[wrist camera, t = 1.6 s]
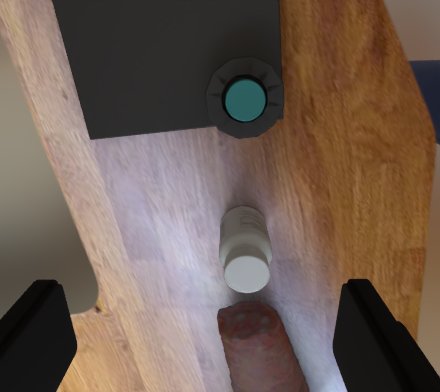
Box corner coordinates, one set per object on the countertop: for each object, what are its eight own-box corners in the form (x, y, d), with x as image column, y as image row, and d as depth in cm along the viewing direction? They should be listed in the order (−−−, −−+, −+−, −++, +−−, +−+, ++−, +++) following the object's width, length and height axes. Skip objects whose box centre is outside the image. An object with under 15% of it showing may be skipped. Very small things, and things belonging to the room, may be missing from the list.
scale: (274, -60, 22) (280, -78, 19) (281, 126, 27) (287, 133, 24) (53, -27, 23) (28, -40, 20) (98, 146, 28) (84, 155, 25)
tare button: (262, 76, 23) (264, 77, 21) (264, 116, 24) (266, 119, 22) (223, 81, 23) (223, 82, 21) (227, 119, 24) (227, 123, 22)
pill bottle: (235, 252, 32) (236, 307, 24) (211, 218, 30) (206, 266, 23) (273, 232, 31) (287, 284, 23) (251, 197, 29) (259, 240, 22)
